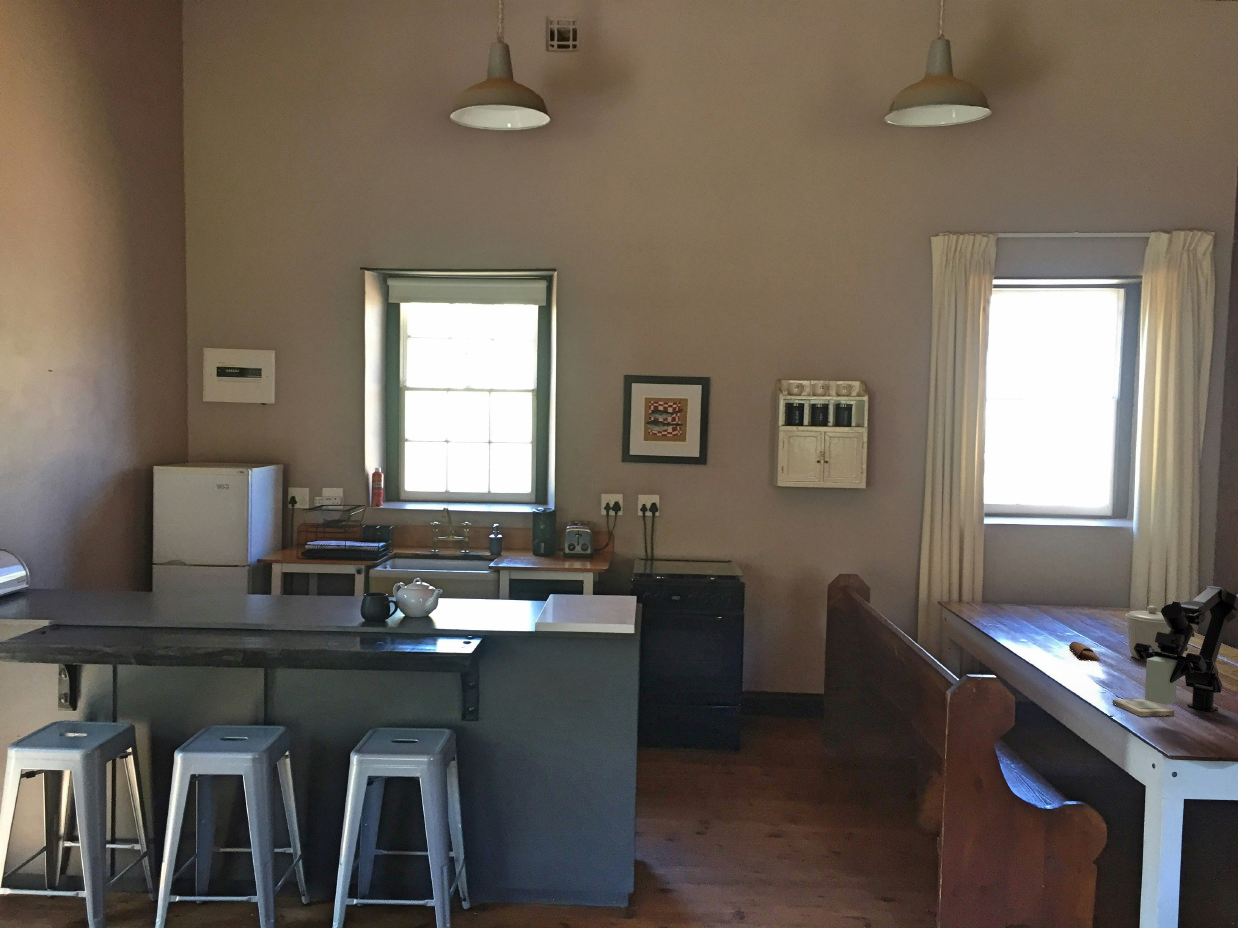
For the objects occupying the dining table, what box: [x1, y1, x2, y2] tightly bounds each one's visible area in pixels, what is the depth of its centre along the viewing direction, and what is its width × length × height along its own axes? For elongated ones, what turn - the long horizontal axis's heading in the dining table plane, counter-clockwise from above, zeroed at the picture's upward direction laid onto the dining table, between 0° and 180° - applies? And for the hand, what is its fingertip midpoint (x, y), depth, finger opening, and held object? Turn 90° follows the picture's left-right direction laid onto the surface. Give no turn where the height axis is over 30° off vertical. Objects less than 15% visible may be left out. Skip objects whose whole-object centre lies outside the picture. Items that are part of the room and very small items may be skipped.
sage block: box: [1144, 656, 1178, 706], centre depth 268 cm, size 6×6×12 cm
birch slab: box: [1111, 698, 1175, 717], centre depth 281 cm, size 12×12×2 cm
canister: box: [1124, 605, 1171, 662], centre depth 347 cm, size 18×18×21 cm
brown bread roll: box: [1068, 641, 1101, 662], centre depth 351 cm, size 18×7×7 cm, turn 164°
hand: (1159, 679), depth 267 cm, fingers closed on sage block, 6 cm apart
